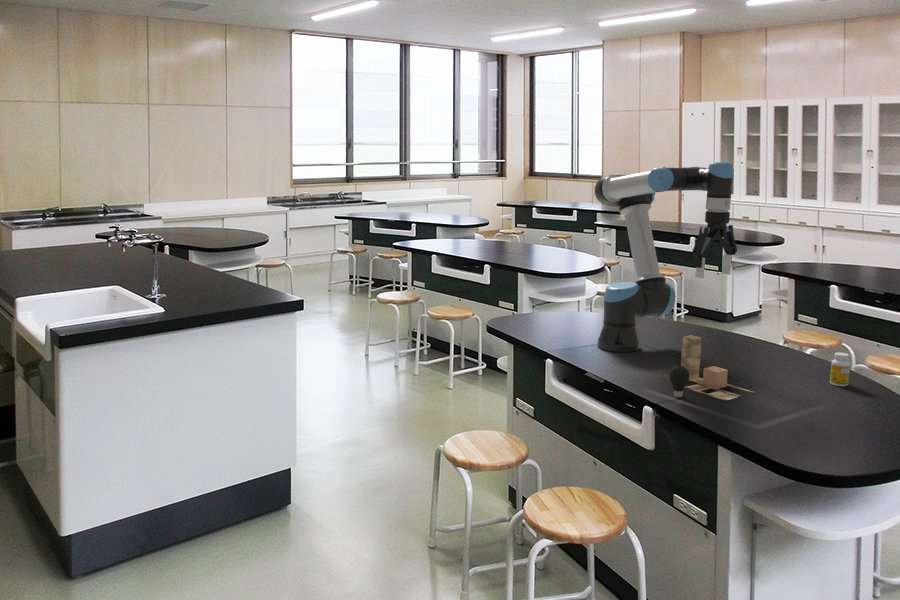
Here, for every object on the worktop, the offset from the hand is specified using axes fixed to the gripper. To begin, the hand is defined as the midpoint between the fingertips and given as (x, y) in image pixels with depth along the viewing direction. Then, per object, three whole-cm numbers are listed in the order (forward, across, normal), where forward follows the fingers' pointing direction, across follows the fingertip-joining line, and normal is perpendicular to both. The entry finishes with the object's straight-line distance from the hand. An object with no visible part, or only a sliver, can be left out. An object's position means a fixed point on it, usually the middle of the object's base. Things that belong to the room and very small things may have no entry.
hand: (712, 275), depth 269 cm
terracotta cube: (+30, -18, -17) cm, 39 cm away
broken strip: (+31, -24, -21) cm, 45 cm away
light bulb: (+31, -36, -18) cm, 51 cm away
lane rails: (+31, -21, -21) cm, 43 cm away
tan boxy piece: (+31, -18, -12) cm, 38 cm away
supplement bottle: (+31, +19, -36) cm, 51 cm away
